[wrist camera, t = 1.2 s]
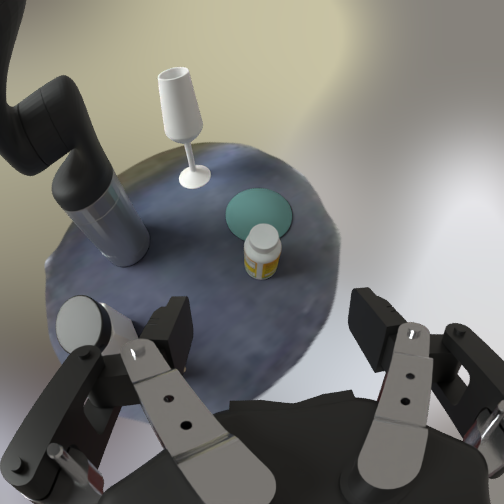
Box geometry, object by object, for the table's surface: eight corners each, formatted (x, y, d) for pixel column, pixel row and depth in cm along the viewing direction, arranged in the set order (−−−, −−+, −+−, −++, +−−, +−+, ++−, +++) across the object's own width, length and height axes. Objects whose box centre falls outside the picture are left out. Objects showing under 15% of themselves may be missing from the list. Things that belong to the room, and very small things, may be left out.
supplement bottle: (241, 277, 44) (239, 250, 36) (247, 248, 47) (247, 216, 38) (275, 282, 44) (281, 256, 35) (279, 253, 46) (285, 222, 38)
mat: (214, 229, 48) (214, 228, 48) (242, 182, 53) (242, 180, 53) (278, 253, 46) (278, 252, 46) (300, 201, 51) (300, 200, 51)
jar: (93, 361, 37) (49, 350, 26) (98, 315, 41) (58, 292, 30) (139, 369, 37) (101, 362, 26) (143, 320, 41) (109, 296, 30)
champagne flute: (179, 191, 52) (149, 87, 31) (178, 168, 55) (153, 70, 34) (212, 185, 53) (196, 77, 32) (209, 162, 56) (194, 61, 35)
